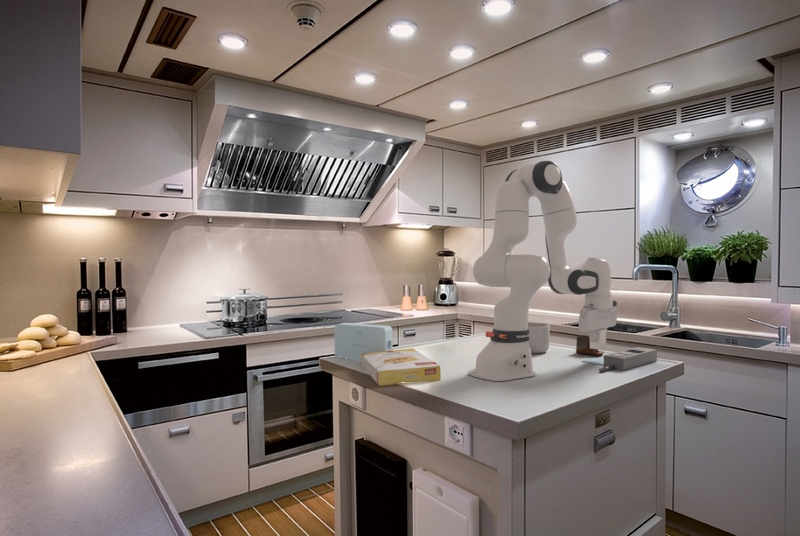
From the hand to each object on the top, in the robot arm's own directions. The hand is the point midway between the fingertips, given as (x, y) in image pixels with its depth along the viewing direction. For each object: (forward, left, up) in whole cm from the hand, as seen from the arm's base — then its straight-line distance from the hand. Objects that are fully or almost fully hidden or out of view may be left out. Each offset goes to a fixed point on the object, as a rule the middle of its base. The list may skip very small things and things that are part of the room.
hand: (598, 341), depth 175 cm
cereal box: (-65, +34, -8) cm, 74 cm away
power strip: (+1, -9, -7) cm, 12 cm away
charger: (0, 0, -3) cm, 3 cm away
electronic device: (+10, +9, -8) cm, 16 cm away
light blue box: (-62, +59, -8) cm, 86 cm away
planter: (-1, +27, -8) cm, 28 cm away
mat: (0, 0, -8) cm, 7 cm away
